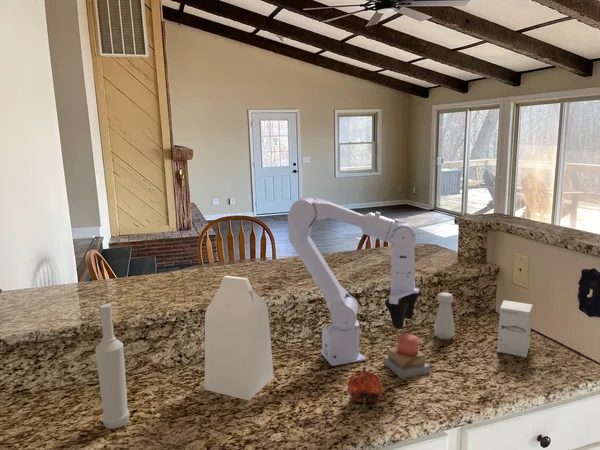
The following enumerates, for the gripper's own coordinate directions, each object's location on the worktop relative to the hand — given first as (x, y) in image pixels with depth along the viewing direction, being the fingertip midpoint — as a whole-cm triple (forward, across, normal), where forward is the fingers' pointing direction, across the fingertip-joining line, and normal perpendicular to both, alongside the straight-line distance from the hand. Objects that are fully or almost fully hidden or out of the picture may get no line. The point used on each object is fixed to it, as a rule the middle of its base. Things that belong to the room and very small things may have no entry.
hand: (403, 322), depth 117 cm
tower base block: (+11, -3, -2) cm, 12 cm away
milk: (+10, -30, +30) cm, 43 cm away
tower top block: (+9, -3, -2) cm, 9 cm away
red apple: (+10, -23, +1) cm, 26 cm away
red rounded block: (+6, -3, -2) cm, 7 cm away
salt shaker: (+11, +20, -6) cm, 24 cm away
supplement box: (+11, +20, -24) cm, 33 cm away
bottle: (+10, -54, +43) cm, 70 cm away
